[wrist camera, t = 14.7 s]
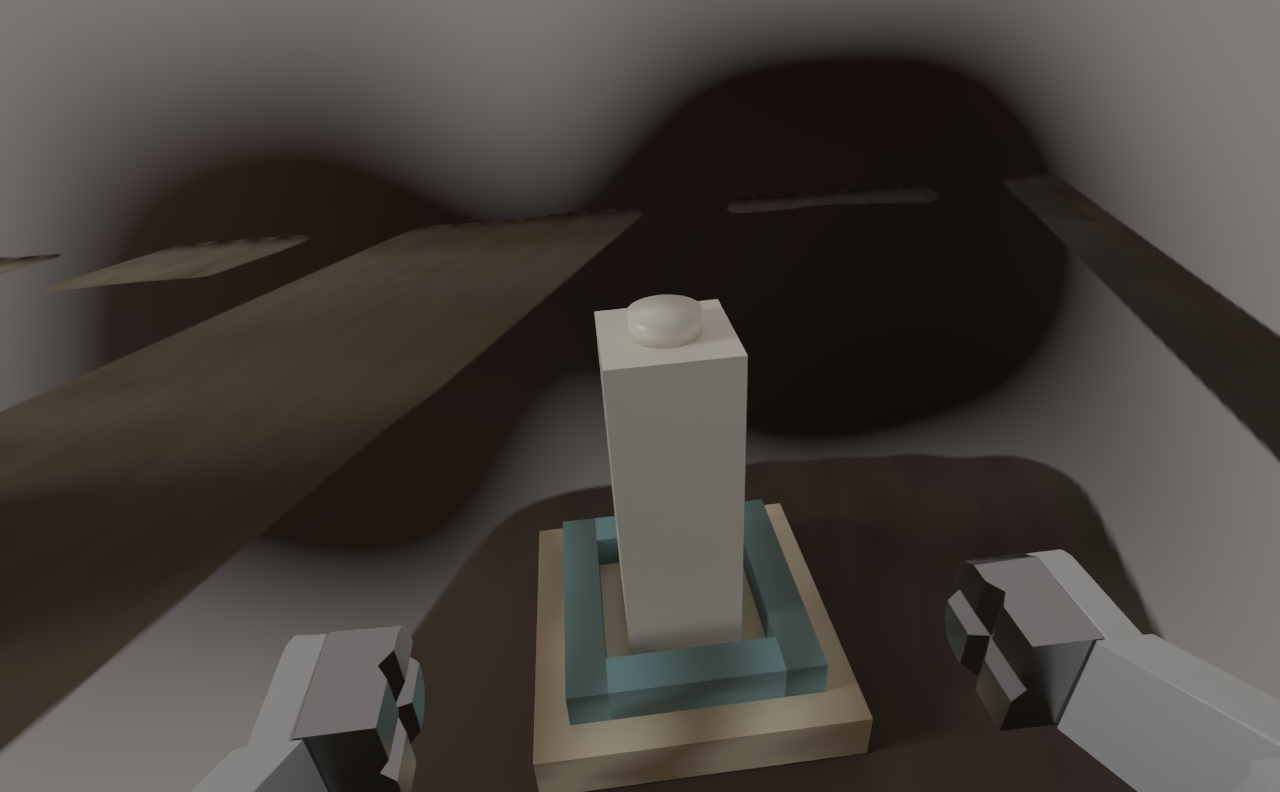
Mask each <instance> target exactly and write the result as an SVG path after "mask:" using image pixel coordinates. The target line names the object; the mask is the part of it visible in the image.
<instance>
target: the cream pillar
mask: <svg viewBox="0 0 1280 792" xmlns="http://www.w3.org/2000/svg"><path fill="white" fill-rule="evenodd" d="M594 313H595V323H596V333H597V343H598V353H599V362H600V373H601V382H602V391H603V392H602V393H603V403H604V412H605V422H606V432H607V442H608V452H609V462H610V471H611V482H612V492H613V502H614V512H615V522H616V532H617V542H618V551H619V561H620V571H621V581H622V589H623V597H624V606H625V614H626V622H627V630H628V639H629V647H630V655H635V654H643V653H651V652H659V651H667V650H674V649H682V648H690V647H698V646H706V645H714V644H722V643H730V642H738V641H742V594H743V547H744V501H745V454H746V452H745V451H746V407H747V359H748V356H747V353H746V352H745V350H744V348H743V346H742V344H741V342H740V340H739V338H738V337H737V335H736V333H735V331H734V329H733V327H732V325H731V324H730V322H729V320H728V318H727V316H726V314H725V312H724V310H723V308H722V307H721V305H720V303H719V301H718V299H716V300H706V301H696V300H694V299H691V298H689V297H685V296H679V295H657V296H650V297H646V298H643V299H640V300H638V301H636V302H634V303H632V304H631V305H630V306H629V307H628V308H626V309H616V310H606V311H596V312H594Z"/></svg>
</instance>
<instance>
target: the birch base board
mask: <svg viewBox="0 0 1280 792" xmlns="http://www.w3.org/2000/svg"><path fill="white" fill-rule="evenodd" d="M872 722H873V718H872V716H871V713H870V711H869V709H868V706H867V704H866V702H865V699H864V697H863V695H862V692H861V690H860V688H859V685H858V683H857V681H856V678H855V676H854V674H853V672H852V669H851V667H850V665H849V662H848V660H847V658H846V655H845V653H844V651H843V648H842V646H841V644H840V641H839V639H838V637H837V634H836V632H835V630H834V628H833V625H832V623H831V621H830V618H829V616H828V614H827V611H826V609H825V607H824V604H823V602H822V600H821V597H820V595H819V593H818V590H817V588H816V586H815V583H814V581H813V579H812V577H811V574H810V572H809V570H808V567H807V565H806V563H805V560H804V558H803V556H802V553H801V551H800V549H799V546H798V544H797V542H796V539H795V537H794V535H793V533H792V530H791V528H790V526H789V523H788V521H787V519H786V516H785V514H784V512H783V509H782V507H781V505H780V503H779V504H770V505H764V503H763V501H762V499H760V500H751V501H744V547H743V594H742V641H738V642H730V643H722V644H714V645H706V646H698V647H690V648H682V649H674V650H667V651H659V652H651V653H643V654H635V655H630V647H629V639H628V630H627V622H626V614H625V606H624V597H623V589H622V581H621V571H620V561H619V551H618V542H617V532H616V522H615V516H611V517H603V518H594V519H585V520H576V521H568V522H563V528H562V529H553V530H544V531H540V537H539V573H538V608H537V644H536V680H535V715H534V751H533V766H534V771H535V775H536V779H537V784H538V788H539V792H585V791H592V790H600V789H607V788H614V787H622V786H629V785H636V784H643V783H651V782H658V781H665V780H672V779H680V778H687V777H694V776H702V775H709V774H716V773H723V772H731V771H738V770H745V769H753V768H760V767H767V766H774V765H782V764H789V763H796V762H803V761H811V760H818V759H825V758H833V757H840V756H847V755H854V754H862V753H867V750H868V744H869V739H870V733H871V727H872Z"/></svg>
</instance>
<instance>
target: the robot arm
mask: <svg viewBox="0 0 1280 792" xmlns="http://www.w3.org/2000/svg"><path fill="white" fill-rule="evenodd" d="M953 580H954V582H955V583H956V585H957V586H958V588H959V590H958V591H957V592H956V593H955V594H954V595H953V596H952V597H951V598H950V599H949V600H948V601H947V605H946V609H945V614H944V621H945V629H946V635H947V638H948V641H949V643H950V646H951V649H952V650H953V652H954V654H955V656H956V658H957V659H958V661H959V663H960V664H961V665H963V666H964V667H966V668H967V669H969V670H970V671H972V672H973V673H975V674H977V675H978V677H977V683H976V689H975V690H976V692H977V693H978V695H979V697H980V698H981V700H982V702H983V703H984V705H985V707H986V708H987V710H988V712H989V713H990V715H991V717H992V718H993V720H994V722H995V723H996V725H997V727H998V728H999V730H1000V731H1004V730H1013V729H1023V728H1033V727H1042V726H1052V725H1058V727H1057V728H1058V729H1059V730H1060V731H1061V732H1063V733H1064V734H1065V735H1067V736H1068V737H1069V738H1070V739H1072V740H1073V741H1074V742H1075V743H1077V744H1078V745H1079V746H1081V747H1082V748H1083V749H1084V750H1086V751H1087V752H1088V753H1089V754H1091V755H1092V756H1093V757H1094V758H1096V759H1097V760H1098V761H1100V762H1101V763H1102V764H1103V765H1105V766H1106V767H1107V768H1108V769H1110V770H1111V771H1112V772H1114V773H1115V774H1116V775H1117V776H1119V777H1120V778H1121V779H1122V780H1124V781H1125V782H1126V783H1128V784H1129V785H1130V786H1131V787H1133V788H1134V789H1135V790H1136V791H1138V792H1280V700H1278V699H1276V698H1274V697H1272V696H1270V695H1268V694H1266V693H1264V692H1263V691H1261V690H1259V689H1257V688H1255V687H1253V686H1251V685H1249V684H1247V683H1245V682H1243V681H1241V680H1239V679H1238V678H1236V677H1234V676H1232V675H1230V674H1228V673H1226V672H1224V671H1222V670H1221V669H1218V668H1217V667H1215V666H1213V665H1211V664H1209V663H1207V662H1205V661H1203V660H1201V659H1200V658H1198V657H1196V656H1194V655H1192V654H1190V653H1188V652H1186V651H1184V650H1182V649H1180V648H1178V647H1177V646H1175V645H1173V644H1171V643H1169V642H1167V641H1165V640H1163V639H1161V638H1159V637H1157V636H1156V635H1154V634H1148V635H1142V634H1141V633H1140V631H1139V630H1138V629H1137V628H1136V627H1135V626H1134V625H1133V624H1132V622H1131V621H1130V620H1129V619H1128V618H1127V617H1126V616H1125V615H1124V614H1123V612H1122V611H1121V610H1120V609H1119V608H1118V607H1117V606H1116V605H1115V604H1114V602H1113V601H1112V600H1111V599H1110V598H1109V597H1108V596H1107V595H1106V593H1105V592H1104V591H1103V590H1102V589H1101V588H1100V587H1099V586H1098V585H1097V583H1096V582H1095V581H1094V580H1093V579H1092V578H1091V577H1090V576H1089V574H1088V573H1087V572H1086V571H1085V570H1084V569H1083V568H1082V567H1081V566H1080V564H1079V563H1078V562H1077V561H1076V560H1075V559H1074V558H1073V557H1072V556H1071V555H1070V554H1069V553H1067V552H1065V551H1063V550H1053V551H1044V552H1036V553H1028V554H1016V555H1008V556H1000V557H992V558H984V559H976V560H968V561H963V562H962V563H961V564H960V565H959V566H958V567H957V569H956V572H955V575H954V579H953ZM412 643H413V642H412V639H411V636H410V633H409V631H408V628H407V627H406V626H394V627H383V628H372V629H360V630H348V631H338V632H330V633H321V634H310V635H299V636H294V637H293V638H292V639H291V641H290V642H289V643H288V644H287V645H286V647H285V649H284V652H283V654H282V657H281V659H280V662H279V664H278V667H277V670H276V672H275V675H274V677H273V680H272V682H271V685H270V688H269V690H268V693H267V695H266V698H265V700H264V703H263V706H262V708H261V711H260V713H259V716H258V719H257V721H256V724H255V727H254V729H253V732H252V734H251V737H250V739H249V742H248V744H247V746H244V747H237V748H234V750H232V751H231V752H230V753H229V754H228V755H227V756H226V757H225V758H224V759H223V760H222V761H221V762H220V763H219V764H218V765H217V766H216V767H215V768H214V769H213V770H212V771H210V772H209V773H208V774H207V775H206V776H205V777H204V778H203V779H202V780H201V781H200V782H199V783H198V784H197V785H196V786H195V787H194V788H193V789H192V790H191V791H190V792H411V790H412V784H413V778H414V772H415V766H416V759H415V756H414V753H413V750H412V747H411V742H412V741H413V740H414V739H415V738H416V736H417V735H418V734H419V733H420V732H421V730H422V723H423V716H424V699H425V688H424V681H423V674H422V671H421V667H420V664H419V662H417V661H416V660H414V659H413V658H411V657H410V653H411V648H412Z"/></svg>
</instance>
